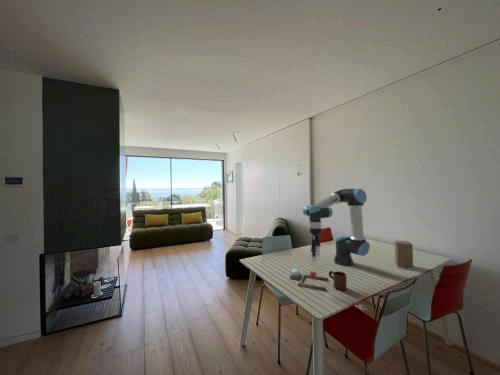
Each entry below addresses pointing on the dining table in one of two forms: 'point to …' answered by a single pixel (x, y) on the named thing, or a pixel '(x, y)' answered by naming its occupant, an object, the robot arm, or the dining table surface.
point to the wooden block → (403, 254)
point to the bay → (312, 285)
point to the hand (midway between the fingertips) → (316, 258)
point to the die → (313, 273)
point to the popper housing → (295, 277)
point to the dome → (295, 272)
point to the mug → (339, 280)
